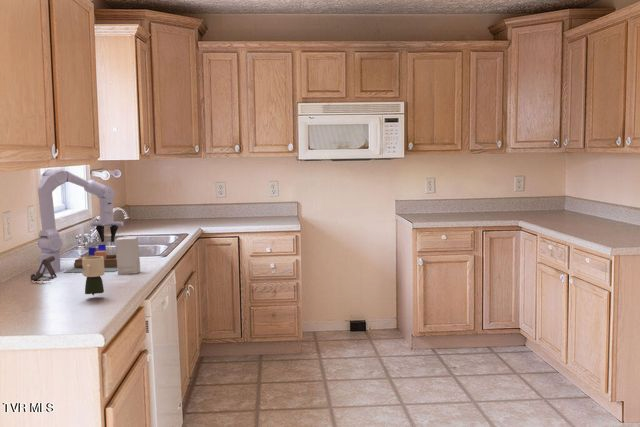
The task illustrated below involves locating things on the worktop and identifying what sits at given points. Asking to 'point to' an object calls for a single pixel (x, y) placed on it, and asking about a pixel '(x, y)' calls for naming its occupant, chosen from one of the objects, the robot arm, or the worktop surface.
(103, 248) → the cable clip
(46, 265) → the portable electronic device stand
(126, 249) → the skincare box
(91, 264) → the character mug
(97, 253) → the part block
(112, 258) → the brown wooden tray
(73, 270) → the dock mat
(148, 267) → the worktop surface
